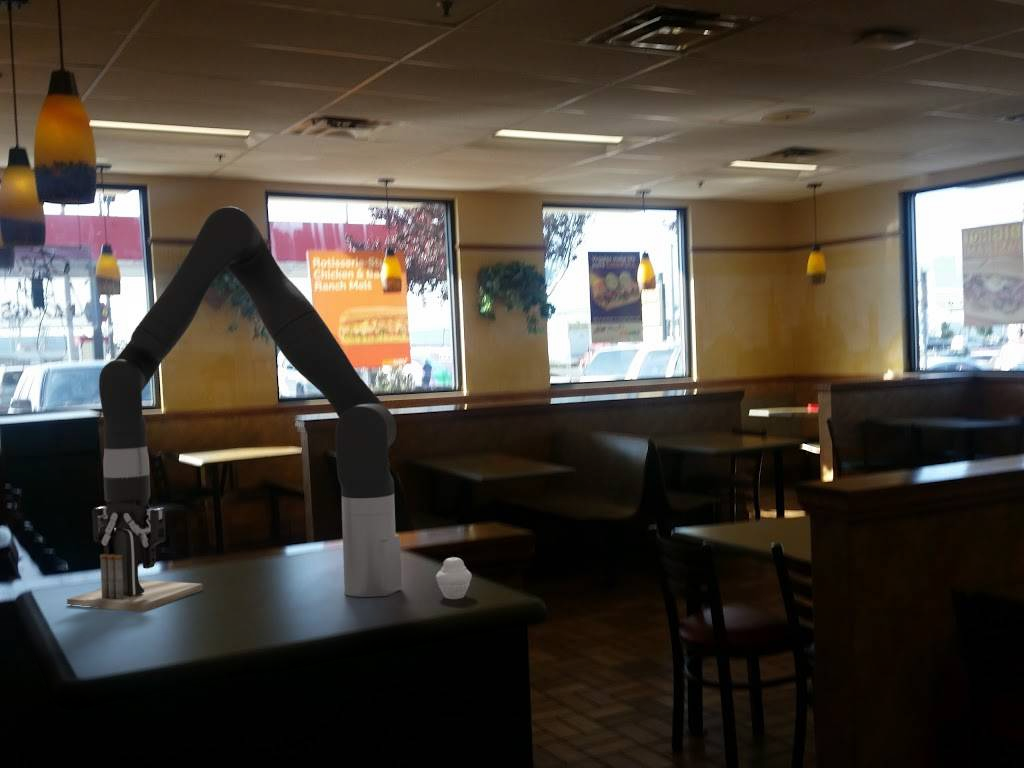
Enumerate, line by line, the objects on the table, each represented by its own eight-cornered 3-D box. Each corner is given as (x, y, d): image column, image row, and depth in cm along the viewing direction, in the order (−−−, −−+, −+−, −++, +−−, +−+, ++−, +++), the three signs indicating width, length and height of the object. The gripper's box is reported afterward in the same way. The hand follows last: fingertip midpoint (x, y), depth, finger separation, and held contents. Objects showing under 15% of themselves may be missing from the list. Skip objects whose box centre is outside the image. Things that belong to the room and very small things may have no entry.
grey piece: (467, 601, 174) (466, 560, 174) (432, 601, 176) (430, 559, 176) (476, 593, 181) (474, 553, 180) (441, 592, 182) (440, 552, 182)
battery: (151, 593, 181) (148, 528, 181) (129, 597, 178) (126, 531, 178) (134, 588, 186) (131, 524, 186) (113, 591, 183) (110, 527, 183)
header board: (202, 590, 189) (201, 542, 188) (143, 611, 173) (141, 559, 173) (130, 585, 194) (129, 538, 194) (67, 606, 179) (65, 555, 179)
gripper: (174, 471, 183) (178, 564, 183) (108, 470, 188) (112, 561, 188) (145, 476, 176) (149, 573, 176) (78, 475, 181) (82, 569, 181)
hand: (130, 566), depth 182 cm, fingers closed on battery, 7 cm apart
